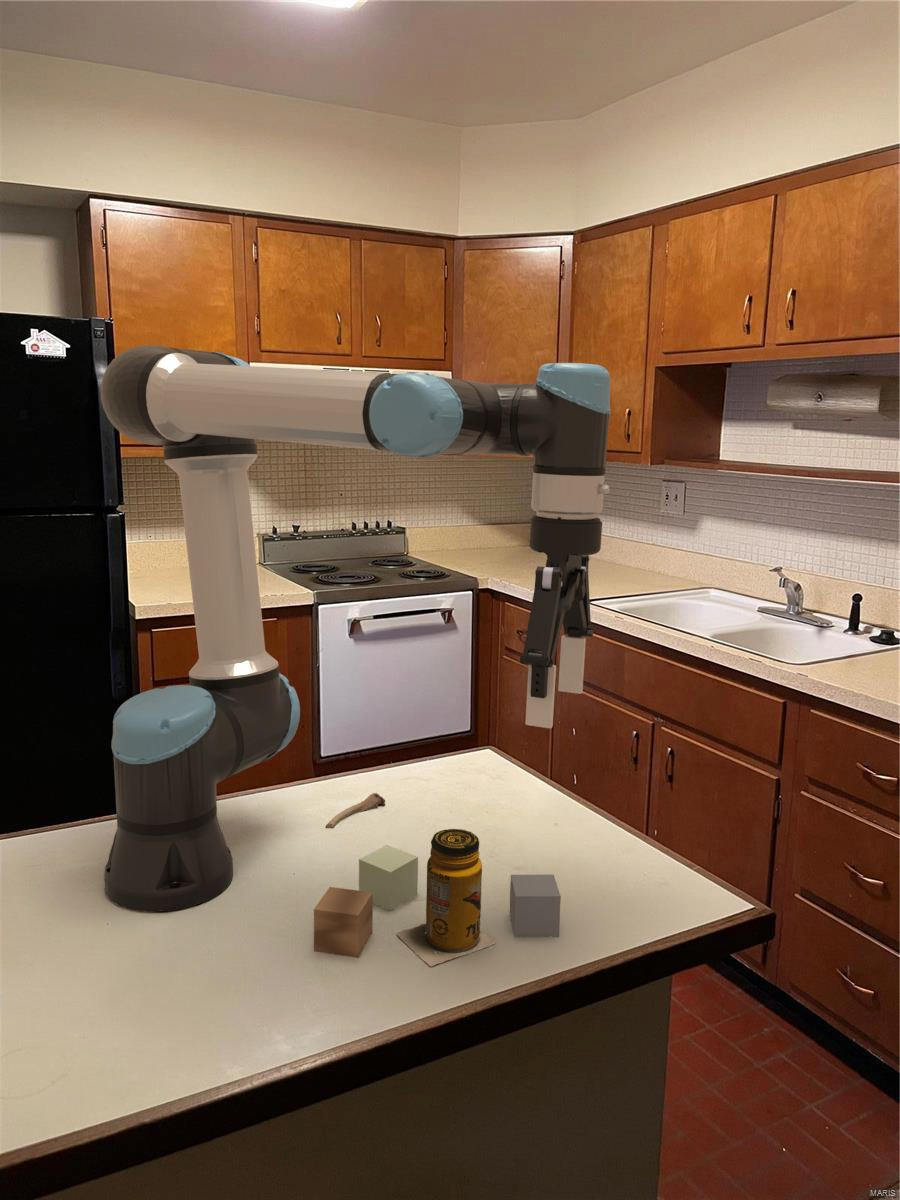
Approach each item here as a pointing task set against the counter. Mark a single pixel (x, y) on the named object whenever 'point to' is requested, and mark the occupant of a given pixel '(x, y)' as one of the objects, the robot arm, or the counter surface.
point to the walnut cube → (343, 922)
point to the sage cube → (389, 876)
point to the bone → (358, 808)
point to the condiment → (450, 900)
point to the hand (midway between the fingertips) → (555, 708)
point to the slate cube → (534, 906)
